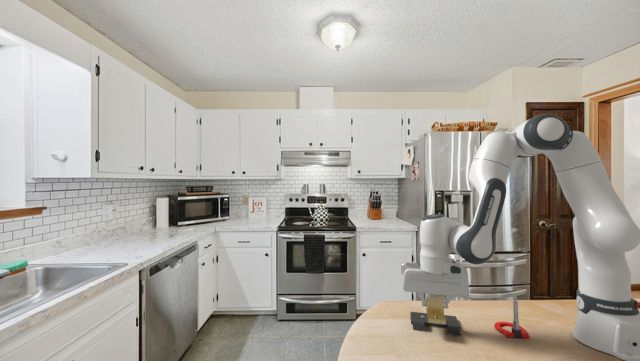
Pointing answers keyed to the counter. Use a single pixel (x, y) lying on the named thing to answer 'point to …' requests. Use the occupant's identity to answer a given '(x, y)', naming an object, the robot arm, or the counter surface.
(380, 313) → the counter surface
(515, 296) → the tow hook
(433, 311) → the loose leaf
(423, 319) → the fixed leaf
